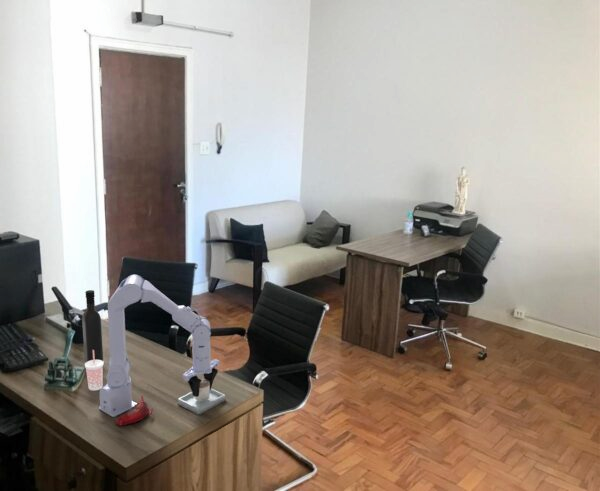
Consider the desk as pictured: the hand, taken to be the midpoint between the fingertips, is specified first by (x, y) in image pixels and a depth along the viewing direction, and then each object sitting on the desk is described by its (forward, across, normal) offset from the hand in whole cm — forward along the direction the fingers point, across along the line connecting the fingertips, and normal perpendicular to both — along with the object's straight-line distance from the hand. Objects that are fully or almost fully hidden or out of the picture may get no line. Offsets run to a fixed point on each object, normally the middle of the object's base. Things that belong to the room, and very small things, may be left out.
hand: (201, 392), depth 182 cm
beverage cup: (+4, -17, +35) cm, 39 cm away
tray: (+4, 0, 0) cm, 4 cm away
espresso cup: (+2, 0, 0) cm, 2 cm away
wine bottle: (+4, -9, +48) cm, 49 cm away
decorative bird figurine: (+2, -15, +6) cm, 16 cm away
